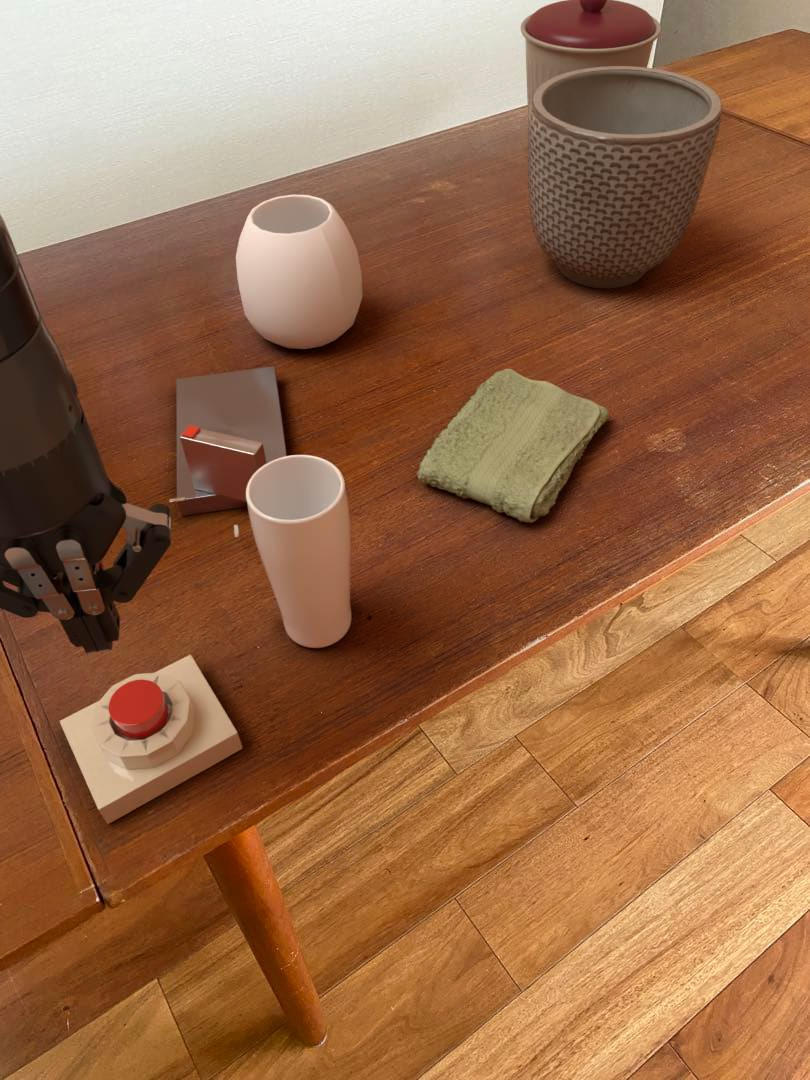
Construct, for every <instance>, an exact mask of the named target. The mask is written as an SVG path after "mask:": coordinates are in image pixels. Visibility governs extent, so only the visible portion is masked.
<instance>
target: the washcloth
mask: <svg viewBox="0 0 810 1080" xmlns="http://www.w3.org/2000/svg"><path fill="white" fill-rule="evenodd" d="M610 415H611V414H610V412H609V410H608V409H607V408H606V407H604V406H602V405H600V404H598V403H596V402H594V401H592V400H590V399H587V398H584V397H581V396H577V395H574V394H572V393H569V392H567V391H566V390H564V389H563V388H561V387H559V386H557V385H555V384H554V383H551V382H549V381H546V380H536V379H530V378H528V377H526V376H523V375H521V374H520V373H518V372H517V371H515V370H513V369H511V368H504V369H502V370H500V371H495V373H493V375H491V376H490V377H488V379H486V380H485V381H484V382H482V383H481V384H480V385H479V386H478V387H477V389H476V392H475V394H472V395H471V396H470V399H469V400H468V402H466V403H465V405H464V406H462V408H461V409H460V411H458V412H457V414H456V416H454V417H453V418H452V419H451V420H450V422H449V423H448V424H447V427H446V428H445V429H442V431H440V433H438V436H437V437H435V439H434V442H433V443H432V444H431V447H430V449H428V450H427V451H426V455H425V456H423V459H422V461H421V462H420V463H419V467H418V468H419V470H417V472H416V475H417V478H418V480H420V483H422V484H424V485H430V486H431V487H433V488H437V489H439V490H443V491H447V492H449V493H450V494H455V495H456V496H457V497H458V498H459V497H460V498H462V499H467V498H468V499H472V500H474V501H477V502H478V503H482V504H484V505H485V504H486V505H488V506H490V507H491V508H492V510H493V511H496V512H498V513H500V514H502V513H505V515H506V516H508V517H511V518H513V519H516V520H518V521H519V522H520V523H522V522H524V523H528V524H530V523H534V522H536V521H537V520H538V519H539V518H540V517H543V516H546V515H547V514H549V513H550V509H551V508H552V507H553V506H554V505H556V499H557V498H558V496H559V493H560V492H561V490H562V489H563V488H564V486H565V485H566V484H567V482H568V480H569V478H570V477H571V473H572V471H573V469H574V467H575V464H577V462H578V460H581V458H582V456H584V455H583V453H585V450H586V449H587V446H588V444H589V443H590V441H592V440H593V439H592V438H594V436H595V434H596V433H597V432H598V430H599V429H600V428H602V425H604V424H605V422H606V421H609V419H610V418H609V417H610Z"/></svg>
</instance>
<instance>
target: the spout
mask: <svg viewBox="0 0 810 1080" xmlns="http://www.w3.org/2000/svg"><path fill="white" fill-rule="evenodd" d="M180 440H181V443H182V446H183V450H184V453H185V457H186V460H187V464H188V467H189V470H190V474H191V477H192V481H193V484H194V488H195V489H198V490H202V491H206V492H210V493H214V494H218V495H222V496H226V497H230V498H234V499H238V500H242V501H246V502H247V500H246V488H247V484H248V482H249V480H250V478H251V477H252V476H253V474H254V473H255V472H256V471H257V470H258V469H260V468H261V467H262V466H264V465H265V464H267V462H266V457H265V452H264V447H263V443H261V442H257V441H252V440H248V439H244V438H239V437H235V436H231V435H226V434H222V433H218V432H213V431H209V430H205V429H200V427H196V426H192V425H189V426H188V427H187V429H186V430H185V431H184V432H183V434H182V435H181V436H180Z"/></svg>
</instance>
